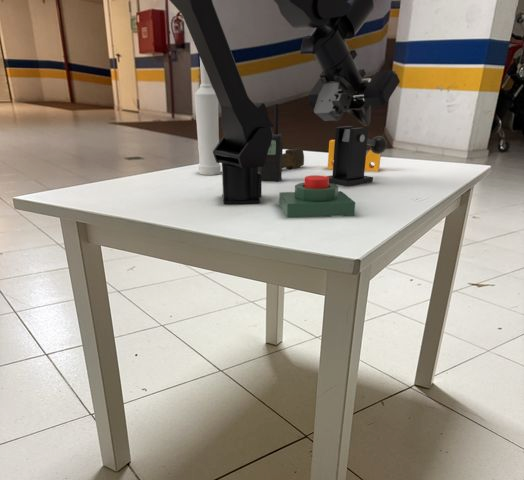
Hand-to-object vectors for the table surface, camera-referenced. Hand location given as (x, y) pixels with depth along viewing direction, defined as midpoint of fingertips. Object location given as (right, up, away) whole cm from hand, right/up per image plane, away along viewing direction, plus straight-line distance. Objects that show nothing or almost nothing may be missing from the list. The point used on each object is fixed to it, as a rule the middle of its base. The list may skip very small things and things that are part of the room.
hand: (367, 124), depth 101 cm
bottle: (-34, -5, +14) cm, 37 cm away
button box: (-13, -23, -18) cm, 32 cm away
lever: (0, -4, +3) cm, 5 cm away
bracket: (-3, -11, +4) cm, 12 cm away
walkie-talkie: (-20, -10, +6) cm, 23 cm away
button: (-13, -20, -20) cm, 31 cm away
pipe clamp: (+1, -2, +19) cm, 20 cm away
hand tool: (-18, -3, +17) cm, 25 cm away
